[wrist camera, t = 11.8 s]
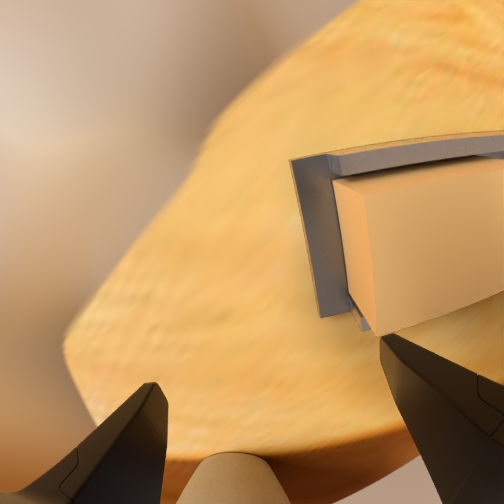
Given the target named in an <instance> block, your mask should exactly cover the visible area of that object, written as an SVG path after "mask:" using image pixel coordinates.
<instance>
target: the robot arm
mask: <svg viewBox="0 0 504 504" xmlns="http://www.w3.org/2000/svg"><path fill="white" fill-rule="evenodd" d="M380 361H381V365H382V368H383V370H384V373H385V376H386V378H387V381H388V384H389V387H390V389H391V392H392V395H393V398H394V401H395V403H396V405H397V407H398V410H399V412H400V414H401V416H402V418H403V420H404V422H405V424H406V426H407V428H408V430H409V432H410V434H411V436H412V438H413V440H414V442H415V444H416V446H417V448H418V450H419V453H420V455H421V456H422V459H423V461H424V463H425V465H426V467H427V470H428V472H429V474H430V476H431V478H432V481H433V483H434V485H435V487H436V489H437V492H438V494H439V496H440V499H441V501H442V503H443V504H504V385H501V384H499V383H496V382H494V381H492V380H490V379H487V378H485V377H483V376H481V375H477V373H475V372H473V371H470V370H468V369H466V368H464V367H462V366H460V365H458V364H456V363H454V362H452V361H450V360H448V359H445V358H443V357H441V356H439V355H437V354H435V353H433V352H431V351H429V350H427V349H425V348H423V347H421V346H419V345H416V344H414V343H412V342H410V341H408V340H406V339H404V338H402V337H400V336H398V335H396V334H393V333H391V334H388V335H384V336H382V337H381V338H380ZM167 436H168V401H167V399H166V397H165V395H164V393H163V392H162V390H161V388H160V386H159V385H158V384H157V383H156V382H150V383H144V384H143V385H142V386H141V387H140V388H139V389H138V390H137V391H136V392H135V393H133V394H132V395H131V396H130V397H129V398H128V399H127V400H126V401H125V402H124V403H123V404H122V405H121V406H120V407H119V408H118V409H117V410H115V411H114V412H113V413H112V414H111V415H110V416H109V417H108V418H107V419H106V420H105V421H104V422H103V423H102V424H100V425H99V426H98V427H97V428H96V429H95V430H94V431H93V432H92V433H91V434H90V435H89V436H88V437H86V438H85V439H84V440H83V441H82V442H81V443H80V444H79V445H78V446H77V447H76V448H75V449H73V450H72V451H71V452H70V453H69V454H68V455H67V456H65V457H64V458H63V459H62V460H61V461H60V462H59V463H57V464H56V465H55V466H53V467H52V468H51V469H50V470H49V471H47V472H46V473H44V474H43V475H42V476H40V477H39V478H38V479H36V480H35V481H33V482H32V483H31V484H30V485H28V486H27V487H25V488H23V489H22V490H19V491H17V492H13V493H0V504H160V497H161V489H162V481H163V473H164V466H165V458H166V451H167Z"/></svg>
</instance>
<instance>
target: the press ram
mask: <svg viewBox="0 0 504 504" xmlns="http://www.w3.org/2000/svg"><path fill="white" fill-rule="evenodd" d="M332 182H333V187H334V193H335V198H336V204H337V210H338V216H339V222H340V229H341V235H342V242H343V249H344V256H345V264H346V272H347V280H348V288H349V293H350V295H351V296H352V298H353V300H354V301H355V303H356V304H357V306H358V308H359V309H360V311H361V313H362V314H363V316H364V317H365V319H366V321H367V322H368V324H369V326H370V327H371V329H372V331H373V332H374V334H375V336H376V337H379V336H382V335H385V334H388V333H392V332H395V331H398V330H401V329H404V328H407V327H410V326H413V325H416V324H419V323H422V322H425V321H428V320H431V319H434V318H436V317H439V316H442V315H445V314H447V313H450V312H453V311H455V310H458V309H461V308H463V307H466V306H468V305H471V304H473V303H476V302H478V301H481V300H483V299H485V298H488V297H490V296H492V295H495V294H497V293H499V292H502V291H504V159H498V158H492V157H486V156H474V157H466V158H459V159H452V160H445V161H439V162H432V163H426V164H420V165H414V166H408V167H402V168H396V169H390V170H385V171H379V172H374V173H368V174H363V175H358V176H352V177H347V178H342V179H337V180H332Z"/></svg>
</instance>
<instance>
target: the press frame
mask: <svg viewBox="0 0 504 504" xmlns="http://www.w3.org/2000/svg"><path fill="white" fill-rule="evenodd" d="M474 156H486V157H492V158H498V159H504V130H502V131H486V132H472V133H461V134H450V135H440V136H431V137H422V138H414V139H407V140H399V141H392V142H385V143H378V144H372V145H365V146H359V147H353V148H347V149H342V150H336V151H331V152H325V153H320V154H315V155H310V156H305V157H300V158H295V159H290V160H289V164H290V168H291V173H292V177H293V182H294V187H295V191H296V196H297V201H298V206H299V211H300V216H301V221H302V226H303V231H304V236H305V241H306V246H307V252H308V257H309V263H310V268H311V274H312V279H313V285H314V291H315V297H316V303H317V309H318V313H319V315H320V318H324V317H328V316H332V315H336V314H340V313H344V312H348V311H351V313H352V315H353V317H354V319H355V320H356V322H357V324H358V326H359V328H360V329H361V331H362V332H363V331H366V330H370V329H371V327H370V326H369V324H368V322H367V321H366V319H365V317H364V316H363V314H362V313H361V311H360V309H359V308H358V306H357V304H356V303H355V301H354V300H353V298H352V296H351V295H350V293H349V288H348V280H347V272H346V264H345V256H344V249H343V242H342V235H341V229H340V222H339V216H338V210H337V204H336V198H335V193H334V187H333V182H332V180H337V179H342V178H347V177H352V176H358V175H363V174H368V173H374V172H379V171H385V170H390V169H396V168H402V167H408V166H414V165H420V164H426V163H432V162H439V161H445V160H452V159H459V158H466V157H474Z"/></svg>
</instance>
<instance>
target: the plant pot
mask: <svg viewBox="0 0 504 504" xmlns="http://www.w3.org/2000/svg"><path fill="white" fill-rule="evenodd" d="M176 504H291V503H290V501H289V499H288V497H287V495H286V493H285V492H284V490H283V488H282V486H281V484H280V483H279V481H278V479H277V478H276V476H275V474H274V473H273V471H272V469H271V468H270V466H269V464H268V463H267V462H266V461H265V460H263V459H261V458H259V457H257V456H254V455H250V454H245V453H221V454H216V455H212V456H209V457H207V458H206V459H204V460H203V461H202V462H201V463H200V465H199V466H198V468H197V469H196V471H195V472H194V474H193V476H192V477H191V479H190V480H189V482H188V484H187V485H186V487H185V489H184V490H183V492H182V494H181V496H180V497H179V499H178V501H177V503H176Z"/></svg>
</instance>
